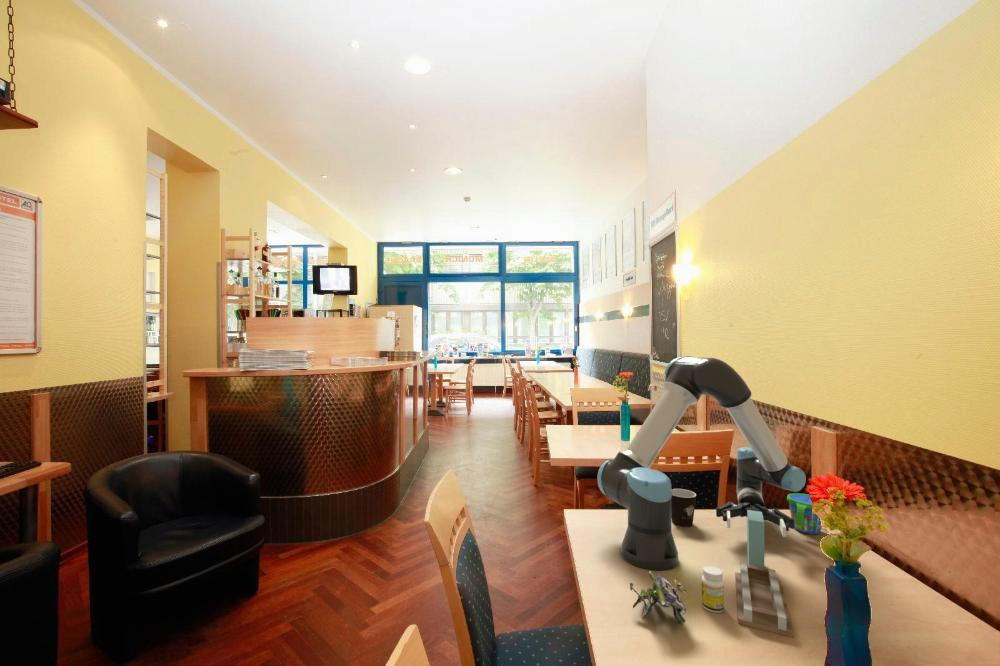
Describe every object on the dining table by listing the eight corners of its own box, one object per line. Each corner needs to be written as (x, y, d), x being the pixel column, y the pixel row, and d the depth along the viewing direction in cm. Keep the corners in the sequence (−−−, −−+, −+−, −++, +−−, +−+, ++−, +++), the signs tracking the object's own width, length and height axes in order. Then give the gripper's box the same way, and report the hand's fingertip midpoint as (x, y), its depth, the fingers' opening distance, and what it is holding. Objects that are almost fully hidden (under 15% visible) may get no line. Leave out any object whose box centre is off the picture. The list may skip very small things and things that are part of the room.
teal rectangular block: (747, 560, 125) (747, 509, 126) (761, 563, 124) (761, 511, 124) (748, 573, 118) (748, 519, 119) (764, 576, 117) (764, 522, 117)
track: (735, 576, 117) (735, 562, 117) (780, 585, 113) (780, 571, 113) (738, 623, 97) (738, 607, 97) (793, 637, 93) (793, 620, 93)
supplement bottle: (703, 599, 107) (703, 563, 107) (726, 605, 104) (726, 568, 104) (699, 608, 103) (699, 571, 103) (722, 616, 100) (722, 577, 100)
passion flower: (678, 646, 98) (701, 620, 91) (629, 637, 98) (649, 611, 91) (666, 592, 107) (686, 566, 101) (621, 584, 107) (639, 557, 101)
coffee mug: (691, 518, 155) (691, 489, 155) (700, 529, 146) (700, 498, 146) (656, 517, 156) (656, 488, 156) (662, 527, 147) (662, 496, 148)
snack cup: (816, 542, 137) (816, 508, 137) (778, 530, 146) (778, 498, 146) (834, 529, 147) (834, 498, 147) (797, 519, 155) (797, 489, 155)
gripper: (796, 522, 141) (809, 550, 122) (708, 508, 152) (707, 532, 133) (796, 497, 141) (809, 522, 122) (708, 486, 152) (707, 506, 133)
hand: (756, 527), depth 127 cm, fingers open, 13 cm apart
